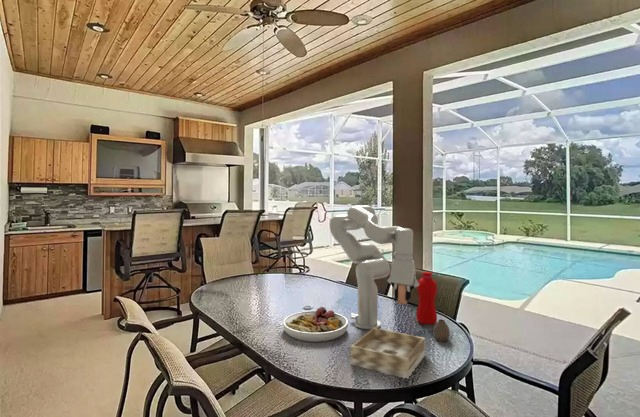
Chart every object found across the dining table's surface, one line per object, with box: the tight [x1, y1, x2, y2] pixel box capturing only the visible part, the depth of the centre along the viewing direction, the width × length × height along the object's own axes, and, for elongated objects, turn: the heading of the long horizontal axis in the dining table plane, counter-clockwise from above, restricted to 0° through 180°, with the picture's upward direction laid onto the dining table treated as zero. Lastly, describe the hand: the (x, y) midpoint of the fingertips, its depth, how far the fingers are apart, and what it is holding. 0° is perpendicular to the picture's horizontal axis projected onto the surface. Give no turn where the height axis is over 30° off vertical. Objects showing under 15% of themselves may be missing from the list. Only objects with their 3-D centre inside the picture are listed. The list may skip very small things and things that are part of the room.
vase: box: [432, 318, 451, 343], centre depth 164 cm, size 7×7×9 cm
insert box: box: [350, 328, 426, 380], centre depth 145 cm, size 22×22×7 cm
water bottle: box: [416, 271, 438, 325], centre depth 187 cm, size 9×11×25 cm
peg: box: [397, 284, 408, 305], centre depth 162 cm, size 4×4×10 cm
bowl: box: [282, 306, 349, 343], centre depth 175 cm, size 30×30×8 cm
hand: (402, 298), depth 162 cm, fingers closed on peg, 4 cm apart
